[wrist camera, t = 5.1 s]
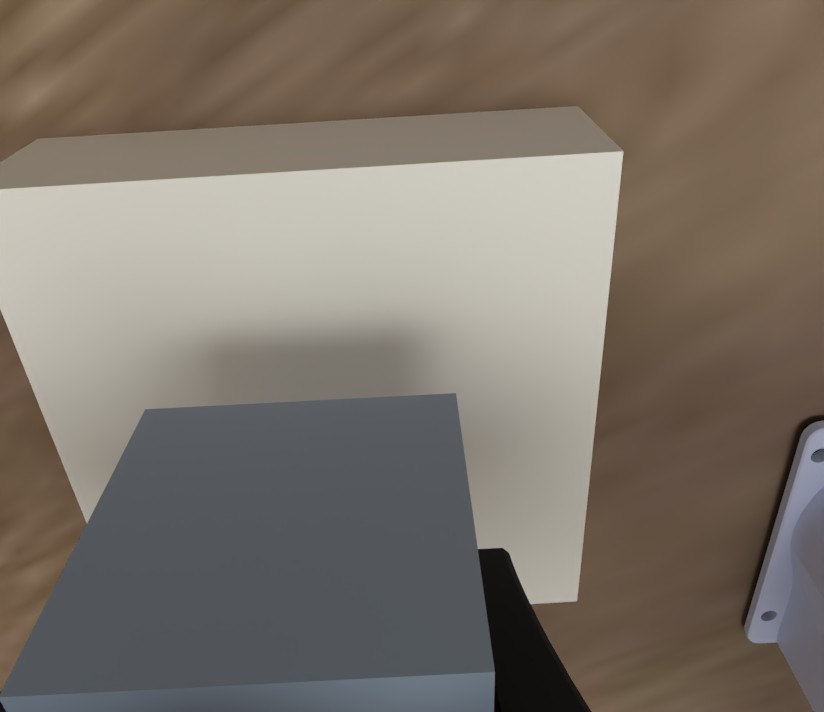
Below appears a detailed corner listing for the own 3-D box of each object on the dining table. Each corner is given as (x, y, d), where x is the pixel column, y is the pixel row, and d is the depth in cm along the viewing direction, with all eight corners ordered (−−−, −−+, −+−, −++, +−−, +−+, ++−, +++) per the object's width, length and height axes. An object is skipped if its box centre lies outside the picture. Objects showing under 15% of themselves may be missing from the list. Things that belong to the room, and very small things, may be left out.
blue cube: (459, 603, 14) (489, 901, 10) (205, 616, 14) (124, 919, 10) (455, 392, 11) (495, 671, 7) (145, 409, 11) (-2, 697, 7)
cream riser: (548, 497, 22) (576, 601, 19) (168, 519, 22) (128, 627, 19) (573, 101, 16) (623, 151, 13) (45, 134, 16) (-47, 192, 13)
